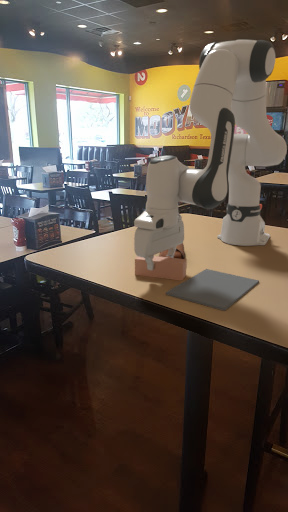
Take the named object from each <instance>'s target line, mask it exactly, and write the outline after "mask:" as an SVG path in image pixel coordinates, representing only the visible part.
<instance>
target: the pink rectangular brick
mask: <svg viewBox="0 0 288 512" xmlns="http://www.w3.org/2000/svg"><path fill="white" fill-rule="evenodd" d="M153 263H155V269H154V270H148V269H147V263H146V261H145V258H143V257H139V256H137V257H135V258H134V275H135V274H136V276H145V277H150V278H151V277H152V278H159V279H166V280H167V279H168V280H176V281H183V280H184V279H185V277H186V276H187V259H186V258H185V259H178V258H169V257H159V255H158V256H156V255H154V258H153Z"/></svg>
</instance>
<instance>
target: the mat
mask: <svg viewBox="0 0 288 512" xmlns="http://www.w3.org/2000/svg"><path fill="white" fill-rule="evenodd" d="M259 283H260V280H258V279H254V278H249V277H245V276H240V275H236V274H232V273H226V272H222V271H217V270H213V269H209V268H205V269H203V270H202V271H200V272H198V273H196V274H195V275H193V276H192V277H190V278H188V279H187V280H185V281H183V282H181V283H179V284H177V285H176V286H174V287H172V288H170V289H169V290H167V291H166V292H165V295H166V296H167V295H168V296H170V297H174V298H177V299H181V300H184V301H187V302H192V303H195V304H198V305H203V306H206V307H209V308H213V309H217V310H221V311H223V312H225V311H227V310H228V309H229V308H230V307H232V305H234V304H235V303H237V302H238V300H240V299H241V298H242V297H244V296H245V295H246V294H247V293H248V292H250V291H251V290H252V289H253V288H254V287H256V285H258V284H259Z"/></svg>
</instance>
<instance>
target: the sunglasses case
mask: <svg viewBox="0 0 288 512" xmlns="http://www.w3.org/2000/svg"><path fill="white" fill-rule="evenodd" d="M184 245H185V244H184V242H183V243H182V244H180V245H177V246H176V251H175V253H174V258H178V259H186V258H185V255H186V254H185V246H184ZM168 250H169V249H167V250H165V251H163V252H160V253H158V254H159V255H158V256H159V257H166V255H167V254H168Z"/></svg>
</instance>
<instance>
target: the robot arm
mask: <svg viewBox="0 0 288 512" xmlns="http://www.w3.org/2000/svg"><path fill="white" fill-rule="evenodd" d="M275 64H276V48H275V46H274V45H273V43H272V42H271V41H270V40H269V41H267V40H264V39H257V40H256V39H255V40H254V39H236V40H228V41H227V40H226V41H220V42H219V41H214V42H211V43H208V44H207V45H206V46H205V47H204V48H203V49H202V51H201V53H200V55H199V60H198V69H199V71H198V73H197V76H196V79H195V81H194V85H193V88H192V92H191V96H190V100H189V111H190V114H191V116H192V117H193V119H194V120H195V121H196V122H197V123H199V124H200V126H201V125H202V126H203V127H205V128H207V129H208V130H209V132H210V133H209V134H210V144H209V151H208V158H207V164H206V166H205V167H204V168H203V169H199V168H192V167H190V166H188V165H185V164H183V163H182V162H180V160H178V157H177V156H174V155H160V156H156V157H153V158H152V159H150V161H149V162H148V165H147V169H146V178H145V181H146V182H145V192H146V197H147V198H146V203H145V210H144V211H143V212H142V213H141V214H140V215H139V216H137V218H135V219H134V221H133V223H134V227H135V228H136V229H135V231H134V238H133V239H134V242H133V243H134V244H133V245H134V246H133V247H134V253H135V255H136V256H137V257H138V256H139V257H143V258H145V261H146V263H147V269H148V270H154V269H155V263H153V258H154V256H156V255H157V254H160V252H163V251H165V250H167V249H169V250H168V254H167V255H166V257H169V258H174V253H175V251H176V246H177V245H180V244H182V243H183V244H184V241H185V225H184V221H183V217H182V215H181V214H180V213H179V202H180V203H185V204H189V205H193V206H197V207H201V208H203V209H206V210H214V209H217V207H219V206H220V205H221V204H222V203H223V202H224V201H225V200H226V197H228V203H227V204H226V215H225V216H223V218H222V222H221V229H220V234H217V239H219V240H221V241H222V242H223V243H225V244H228V245H233V246H234V245H235V246H241V247H242V246H243V247H244V246H246V247H248V246H249V247H250V246H265V245H266V244H267V243H268V241H269V240H270V238H271V234H270V233H266V232H265V228H266V223H265V221H264V219H263V218H262V216H261V210H262V208H263V204H262V203H260V200H261V199H260V198H261V187H262V184H261V182H260V181H259V180H258V179H257V178H256V177H254V176H252V175H250V174H249V173H248V172H247V170H246V167H273V166H278V165H280V164H281V163H282V162H283V161H284V160H285V158H286V155H287V150H288V145H287V142H286V140H285V139H284V137H283V136H282V135H280V134H278V132H276V131H275V130H274V129H273V127H272V126H271V125H270V122H269V119H268V117H267V116H268V115H267V79H268V78H269V77H270V76H271V75H272V73H273V71H274V68H275ZM236 126H237V127H239V128H241V130H242V129H243V130H244V131H245V132H246V133H235V130H236V129H235V128H236Z"/></svg>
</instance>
